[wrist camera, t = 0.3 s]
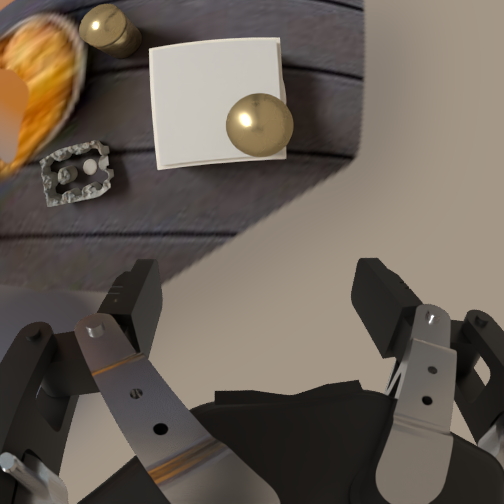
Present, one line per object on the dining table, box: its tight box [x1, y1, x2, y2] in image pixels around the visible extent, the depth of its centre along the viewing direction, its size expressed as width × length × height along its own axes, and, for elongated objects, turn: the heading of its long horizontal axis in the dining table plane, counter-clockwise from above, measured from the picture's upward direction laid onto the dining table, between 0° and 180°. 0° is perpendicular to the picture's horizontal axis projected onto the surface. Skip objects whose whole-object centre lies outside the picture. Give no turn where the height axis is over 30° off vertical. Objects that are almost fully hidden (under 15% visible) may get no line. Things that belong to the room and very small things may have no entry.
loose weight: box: [79, 4, 142, 59], centre depth 25 cm, size 5×5×9 cm
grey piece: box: [40, 140, 114, 207], centre depth 34 cm, size 11×8×4 cm
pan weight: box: [226, 93, 293, 157], centre depth 25 cm, size 5×5×9 cm
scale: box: [149, 38, 287, 170], centre depth 31 cm, size 14×15×7 cm
